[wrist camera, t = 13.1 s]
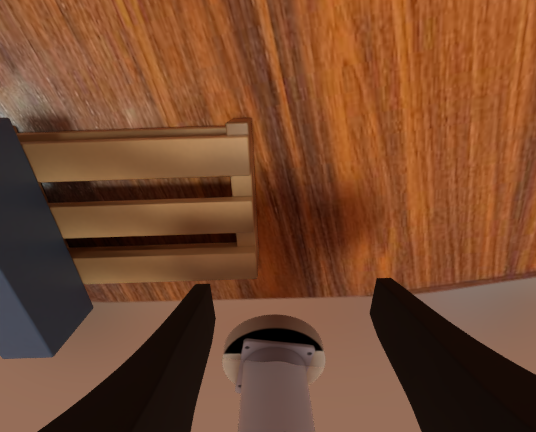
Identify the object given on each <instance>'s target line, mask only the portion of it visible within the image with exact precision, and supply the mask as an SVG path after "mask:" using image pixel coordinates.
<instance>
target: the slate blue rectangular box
mask: <svg viewBox="0 0 536 432" xmlns="http://www.w3.org/2000/svg"><path fill="white" fill-rule="evenodd" d="M92 309H93V305H92V303H91V301H90V298H89V296H88V294H87V292H86V289H85V287H84V285H83V283H82V280H81V278H80V276H79V274H78V271H77V269H76V267H75V265H74V262H73V260H72V258H71V256H70V253H69V251H68V249H67V247H66V244H65V242H64V240H63V238H62V235H61V233H60V231H59V229H58V227H57V224H56V222H55V220H54V218H53V215H52V213H51V211H50V209H49V206H48V204H47V202H46V200H45V197H44V195H43V193H42V191H41V188H40V186H39V184H38V182H37V179H36V177H35V175H34V173H33V170H32V168H31V166H30V164H29V161H28V159H27V157H26V155H25V153H24V150H23V148H22V146H21V144H20V141H19V139H18V137H17V135H16V132H15V130H14V128H13V126H12V123H11V121H10V119H9V118H0V356H1V357H2V358H3V359H14V358H46V357H53V356H54V355H55V354H56V353H57V352H58V351H59V349H60V348H61V347H62V345H63V344H64V343H65V342H66V341H67V340H68V338H69V337H70V336H71V335H72V333H73V332H74V331H75V330H76V329H77V327H78V326H79V325H80V324H81V322H82V321H83V320H84V319H85V318H86V316H87V315H88V314H89V313H90V312H91V310H92Z"/></svg>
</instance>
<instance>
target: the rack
mask: <svg viewBox="0 0 536 432" xmlns="http://www.w3.org/2000/svg"><path fill="white" fill-rule="evenodd" d="M13 128H14V130H15V132H16V135H17V137H18V139H19V141H20V144H21V146H22V148H23V150H24V153H25V155H26V157H27V159H28V161H29V164H30V166H31V168H32V170H33V173H34V175H35V177H36V179H37V182H38V184H39V186H40V188H41V191H42V193H43V195H44V197H45V200H46V202H47V204H48V206H49V209H50V211H51V213H52V215H53V218H54V220H55V222H56V224H57V227H58V229H59V231H60V233H61V235H62V238H63V240H64V242H65V244H66V247H67V249H68V251H69V253H70V256H71V258H72V260H73V262H74V265H75V267H76V269H77V271H78V274H79V276H80V278H81V280H82V283H83V284H106V283H138V282H169V281H200V280H231V279H257V277H258V259H259V247H258V229H257V210H256V192H255V174H254V156H253V137H252V119H251V118H234V119H232V120H230V121H229V122H227V123H226V124H225V126H211V127H180V128H150V129H120V130H89V131H59V132H29V133H18V131H17V129H16V127H15V126H13ZM224 176H230V177H231V187H232V197H214V198H184V199H153V200H122V201H92V202H61V203H49V201H48V199H47V197H46V194H45V192H44V190H43V188H42V185H41V182H71V181H102V180H133V179H163V178H194V177H224ZM218 233H236V238H237V242H229V243H198V244H167V245H136V246H105V247H74V248H69V246H68V244H67V242H66V240H65V238H95V237H126V236H157V235H188V234H218Z"/></svg>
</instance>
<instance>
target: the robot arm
mask: <svg viewBox="0 0 536 432" xmlns="http://www.w3.org/2000/svg"><path fill="white" fill-rule="evenodd" d="M370 316H371V319H372V322H373V325H374V328H375V330H376V333H377V336H378V338H379V340H380V342H381V344H382V346H383V348H384V351H385V353H386V355H387V357H388V359H389V361H390V363H391V365H392V367H393V369H394V371H395V373H396V375H397V377H398V379H399V381H400V383H401V385H402V387H403V389H404V391H405V393H406V395H407V397H408V400H409V402H410V404H411V406H412V409H413V411H414V414H415V416H416V419H417V421H418V424H419V426H420V429H421V431H422V432H536V375H535V374H533V373H531V372H530V371H528V370H526V369H524V368H522V367H521V366H519V365H517V364H515V363H514V362H512V361H510V360H508V359H507V358H505V357H503V356H502V355H500V354H498V353H496V352H495V351H493V350H492V349H490V348H488V347H487V346H485V345H484V344H482V343H480V342H479V341H477V340H476V339H474V338H473V337H471V336H470V335H468V334H467V333H465V332H464V331H462V330H461V329H459V328H458V327H456V326H455V325H453V324H452V323H451V322H449V321H448V320H446V319H445V318H443V317H442V316H441V315H439V314H438V313H437V312H435V311H434V310H433V309H431V308H430V307H429V306H427V305H426V304H424V303H423V302H422V301H421V300H419V299H418V298H417V297H415V296H414V295H413V294H412V293H410V292H409V291H408V290H406V289H405V288H404V287H402V286H401V285H400V284H398V283H397V282H396V281H394V280H393V279H392V278H377V279H376V284H375V289H374V294H373V299H372V304H371V309H370ZM215 319H216V318H215V312H214V306H213V300H212V294H211V288H210V284H196V285H194V286H193V288H192V289H191V290H190V291H189V293H188V294H187V295H186V296H185V298H184V299H183V300H182V301H181V303H180V304H179V305H178V306H177V308H176V309H175V310H174V311H173V312H172V313H171V315H170V316H169V317H168V318H167V319H166V320H165V321H164V323H163V324H162V325H161V326H160V327H159V328H158V329H157V330H156V331H155V332H154V333H153V334H152V336H151V337H150V338H149V339H148V340H147V341H146V342H145V343H144V344H143V345H142V346H141V347H140V348H139V349H138V350H137V351H136V352H135V353H134V354H133V355H132V356H131V357H130V358H129V359H128V360H127V361H126V362H125V363H123V364H122V365H121V366H120V367H119V368H118V369H117V370H116V371H114V372H113V373H112V374H111V375H110V376H109V377H108V378H106V379H105V380H104V381H103V382H101V383H100V384H99V385H98V386H97V387H95V388H94V389H93V390H92V391H91V392H89V393H88V394H87V395H86V396H85V397H83V398H82V399H81V400H79V401H78V402H77V403H76V404H74V405H73V406H72V407H70V408H69V409H68V410H67V411H65V412H64V413H62V414H61V415H60V416H58V417H57V418H56V419H54V420H53V421H52V422H50V423H49V424H48V425H46V426H45V427H43V428H42V429H40V430H39V431H38V432H190V431H191V426H192V421H193V415H194V410H195V406H196V401H197V398H198V394H199V390H200V386H201V382H202V379H203V375H204V371H205V367H206V363H207V359H208V356H209V352H210V348H211V344H212V339H213V333H214V326H215ZM314 352H315V348H314V346H313V345H307V344H297V343H288V342H278V341H268V340H258V339H245V340H244V342H243V347H242V353H241V359H240V364H239V370H238V376H237V382H236V388H235V391H236V392H237V393H241V400H240V412H239V424H238V432H315V428H314V421H313V414H312V408H311V401H310V395H309V388H308V382H307V375H306V374H307V371H308V368H309V365H310V363H311V360H312V357H313V354H314Z"/></svg>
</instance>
